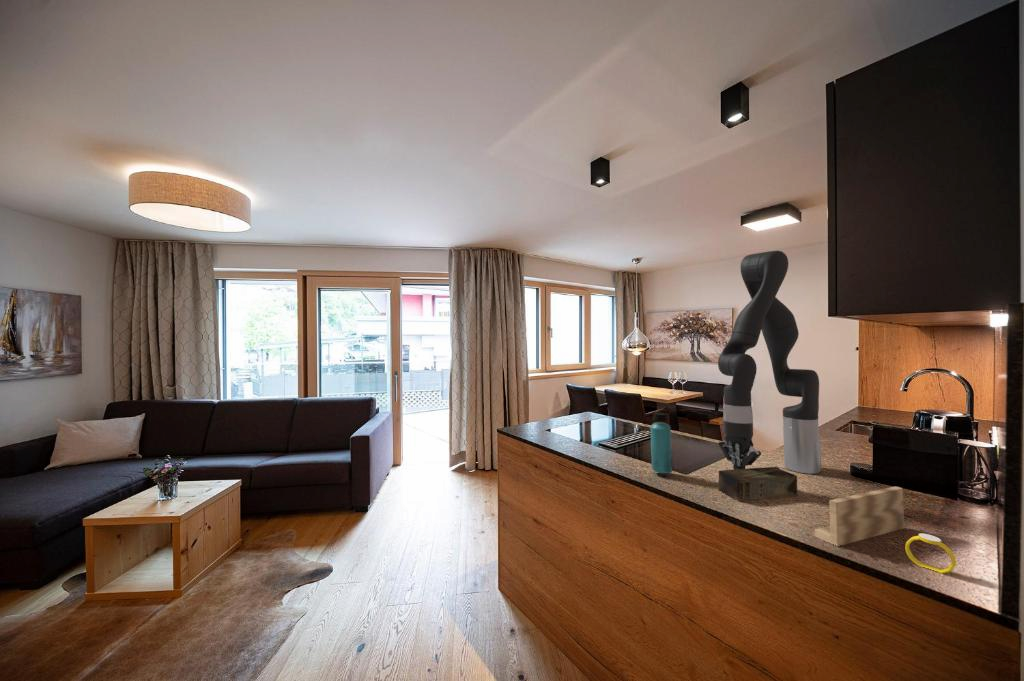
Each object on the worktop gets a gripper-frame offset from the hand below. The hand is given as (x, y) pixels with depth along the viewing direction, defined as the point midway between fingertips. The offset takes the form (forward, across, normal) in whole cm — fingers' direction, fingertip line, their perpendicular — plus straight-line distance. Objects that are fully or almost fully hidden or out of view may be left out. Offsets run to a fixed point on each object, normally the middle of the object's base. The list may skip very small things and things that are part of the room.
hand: (739, 477), depth 107 cm
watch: (+2, -42, +2) cm, 42 cm away
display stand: (+2, -29, -1) cm, 29 cm away
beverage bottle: (+2, +14, +16) cm, 22 cm away
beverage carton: (+3, -6, +1) cm, 7 cm away
